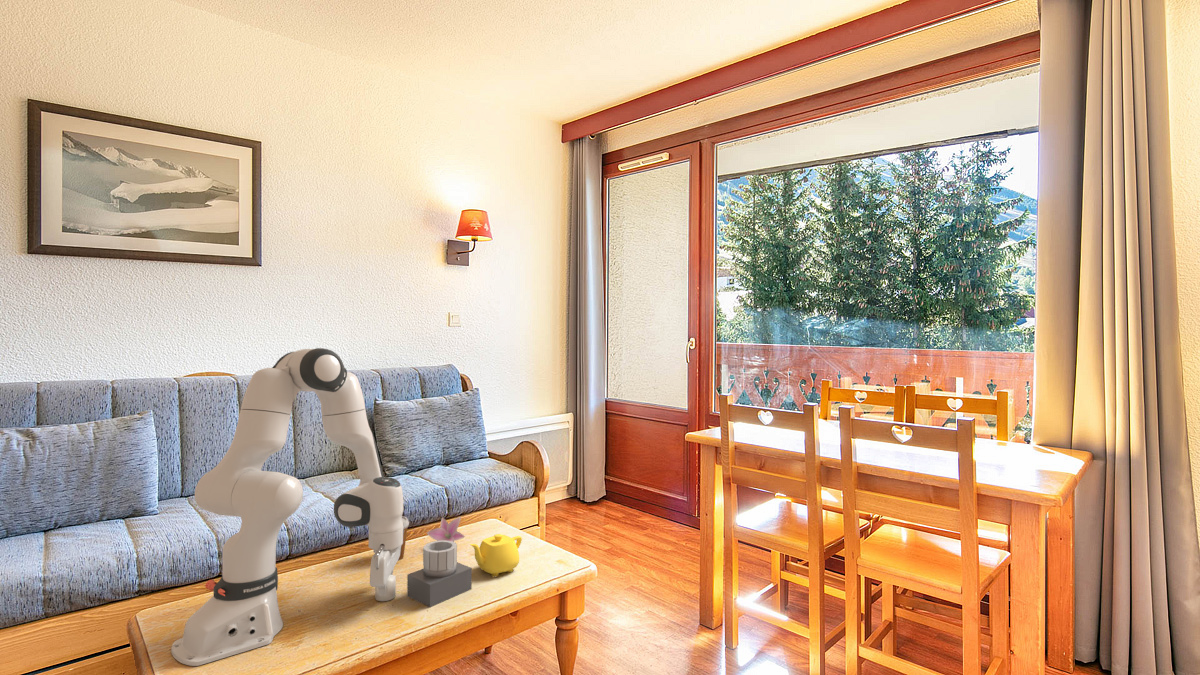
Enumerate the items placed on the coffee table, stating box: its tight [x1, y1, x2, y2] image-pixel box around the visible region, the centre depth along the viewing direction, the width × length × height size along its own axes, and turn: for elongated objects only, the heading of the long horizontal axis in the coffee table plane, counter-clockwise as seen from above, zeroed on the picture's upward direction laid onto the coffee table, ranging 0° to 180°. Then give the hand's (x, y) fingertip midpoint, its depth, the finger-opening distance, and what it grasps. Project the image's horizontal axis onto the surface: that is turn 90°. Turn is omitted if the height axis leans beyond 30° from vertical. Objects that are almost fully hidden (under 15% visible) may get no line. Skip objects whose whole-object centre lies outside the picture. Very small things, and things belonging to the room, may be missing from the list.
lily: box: [426, 516, 466, 542], centre depth 201 cm, size 12×12×10 cm
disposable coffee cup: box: [398, 515, 410, 561], centre depth 192 cm, size 10×10×12 cm
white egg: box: [374, 574, 397, 602], centre depth 165 cm, size 5×5×5 cm
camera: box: [406, 540, 473, 608], centre depth 169 cm, size 14×10×13 cm
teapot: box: [469, 533, 523, 577], centre depth 184 cm, size 18×11×11 cm, turn 131°
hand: (385, 588), depth 165 cm, fingers closed on white egg, 5 cm apart
